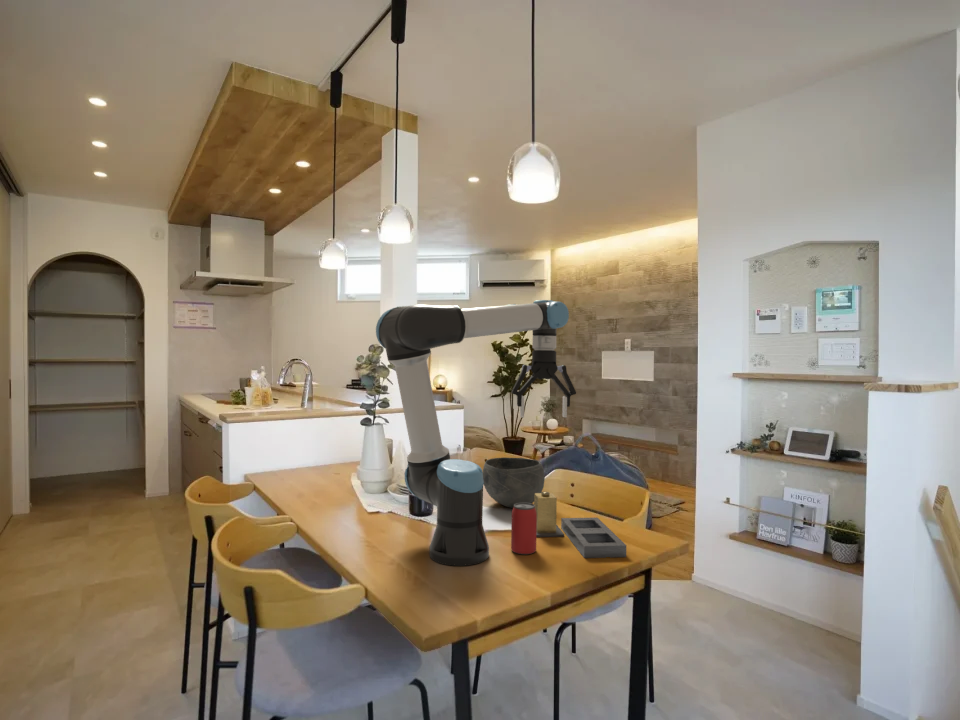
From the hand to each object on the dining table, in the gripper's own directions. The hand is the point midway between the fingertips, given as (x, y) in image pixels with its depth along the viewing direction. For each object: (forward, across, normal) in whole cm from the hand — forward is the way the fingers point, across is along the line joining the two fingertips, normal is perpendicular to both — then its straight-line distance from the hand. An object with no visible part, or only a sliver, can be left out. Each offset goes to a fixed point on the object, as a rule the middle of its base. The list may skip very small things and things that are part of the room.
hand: (543, 417), depth 175 cm
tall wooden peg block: (+31, -2, -14) cm, 34 cm away
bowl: (+32, -7, +14) cm, 36 cm away
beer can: (+32, -11, -29) cm, 44 cm away
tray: (+32, +9, -23) cm, 40 cm away
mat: (+32, -2, -14) cm, 35 cm away
